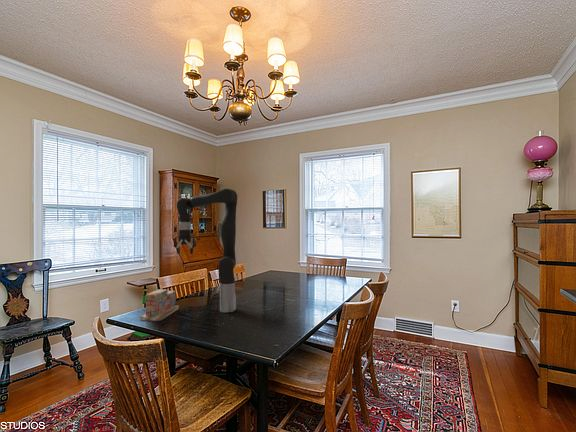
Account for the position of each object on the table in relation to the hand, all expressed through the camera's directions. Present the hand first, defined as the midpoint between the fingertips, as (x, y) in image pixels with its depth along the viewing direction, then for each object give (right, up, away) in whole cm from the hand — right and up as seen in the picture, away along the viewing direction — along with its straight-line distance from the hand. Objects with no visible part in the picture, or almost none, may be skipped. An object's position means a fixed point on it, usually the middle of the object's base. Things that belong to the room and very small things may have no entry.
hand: (184, 253), depth 193 cm
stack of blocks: (-9, -32, -15) cm, 37 cm away
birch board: (-9, -34, -15) cm, 39 cm away
